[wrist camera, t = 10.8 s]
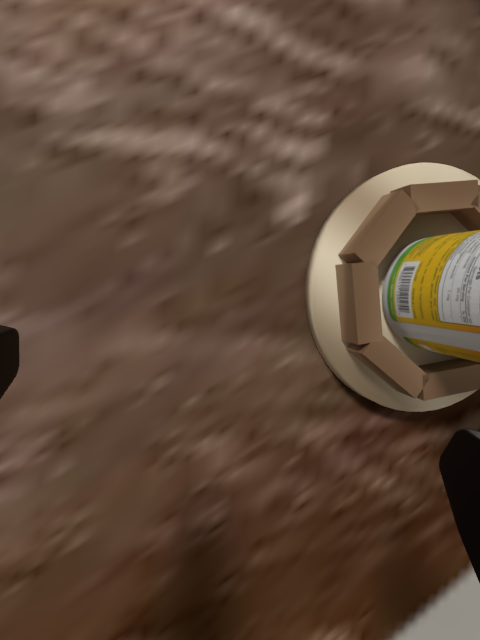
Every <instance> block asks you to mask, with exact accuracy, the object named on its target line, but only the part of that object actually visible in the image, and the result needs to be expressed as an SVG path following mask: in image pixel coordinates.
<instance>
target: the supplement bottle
mask: <svg viewBox="0 0 480 640" xmlns="http://www.w3.org/2000/svg"><path fill="white" fill-rule="evenodd" d="M382 303H383V309H384V313H385V316H386V319H387V321H388V323H389V325H390V326H391V328H392V329H393V331H394V332H395V333H396V334H397V335H398V336H399V337H400V338H401V339H402V340H403V341H405V342H406V343H408V344H410V345H412V346H414V347H417V348H420V349H424V350H428V351H432V352H436V353H441V354H446V355H450V356H454V357H459V358H463V359H467V360H471V361H476V362H480V230H475V231H468V232H461V233H453V234H446V235H439V236H433V237H428V238H424V239H420V240H418V241H415V242H413V243H412V244H410V245H408V246H407V247H405V248H404V249H403V250H402V251H401V252H400V253H399V254H398V255H397V256H396V257H395V259H394V260H393V262H392V263H391V265H390V267H389V269H388V271H387V274H386V277H385V280H384V284H383V291H382Z"/></svg>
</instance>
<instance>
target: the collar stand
mask: <svg viewBox="0 0 480 640" xmlns="http://www.w3.org/2000/svg"><path fill="white" fill-rule="evenodd" d="M475 230H480V180H479V179H478V178H476V177H475V176H473V175H471V174H469V173H467V172H465V171H463V170H461V169H458V168H455V167H452V166H449V165H443V164H438V163H415V164H408V165H404V166H400V167H397V168H394V169H391V170H388V171H386V172H384V173H381V174H379V175H377V176H375V177H373V178H370V179H368V180H366V181H365V182H363V183H362V184H360V185H359V186H357V187H356V188H354V189H353V190H352V191H351V192H350V193H348V194H347V195H346V196H345V197H344V198H343V199H342V200H341V201H340V202H339V203H338V204H337V206H336V207H335V208H334V209H333V210H332V211H331V213H330V214H329V216H328V217H327V219H326V221H325V222H324V224H323V225H322V227H321V229H320V231H319V233H318V235H317V237H316V239H315V242H314V245H313V248H312V251H311V254H310V258H309V262H308V267H307V272H306V283H305V305H306V312H307V318H308V323H309V326H310V330H311V333H312V337H313V339H314V341H315V344H316V346H317V348H318V351H319V353H320V354H321V356H322V358H323V359H324V361H325V362H326V364H327V365H328V367H329V368H330V369H331V370H332V372H333V373H334V374H335V375H336V376H337V377H338V378H339V379H340V380H341V381H342V382H343V383H344V384H345V385H346V386H348V387H349V388H350V389H352V390H353V391H355V392H356V393H358V394H359V395H361V396H363V397H366V398H368V399H370V400H372V401H374V402H376V403H378V404H380V405H382V406H385V407H388V408H392V409H395V410H401V411H407V412H424V411H431V410H437V409H440V408H444V407H447V406H450V405H452V404H454V403H457V402H459V401H461V400H463V399H465V398H466V397H468V396H469V395H471V394H473V393H474V392H475V391H477V390H478V389H480V362H476V361H471V360H467V359H463V358H459V357H454V356H450V355H446V354H441V353H436V352H432V351H428V350H424V349H420V348H417V347H414V346H412V345H410V344H408V343H406V342H405V341H403V340H402V339H401V338H400V337H399V336H398V335H397V334H396V333H395V332H394V331H393V329H392V328H391V326H390V325H389V323H388V321H387V319H386V316H385V313H384V309H383V303H382V291H383V284H384V280H385V277H386V274H387V271H388V269H389V267H390V265H391V263H392V262H393V260H394V259H395V257H396V256H397V255H398V254H399V253H400V252H401V251H402V250H403V249H404V248H405V247H407V246H408V245H410V244H412V243H413V242H415V241H418V240H420V239H424V238H428V237H433V236H439V235H446V234H453V233H461V232H468V231H475Z"/></svg>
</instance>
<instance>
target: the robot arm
mask: <svg viewBox="0 0 480 640" xmlns="http://www.w3.org/2000/svg"><path fill="white" fill-rule="evenodd" d="M18 369H19V334H18V331H17V330H16V329H14V328H11V327H7V326H2V325H0V399H1V397H2V396H3V394H4V393H5V392H6V390H7V389H8V387H9V386H10V384H11V383H12V381H13V380H14V378H15V377H16V374H17V372H18ZM439 468H440V472H441V475H442V479H443V482H444V486H445V489H446V492H447V496H448V499H449V502H450V506H451V509H452V512H453V516H454V519H455V522H456V525H457V528H458V531H459V534H460V536H461V539H462V542H463V544H464V546H465V549H466V551H467V554H468V556H469V559H470V561H471V563H472V566H473V568H474V571H475V573H476V575H477V578H478V580H479V582H480V432H479V431H475V430H471V429H466V428H461V429H458V430H457V431H456V432H455V434H454V435H453V437H452V439H451V440H450V442H449V443H448V445H447V446H446V448H445V450H444V451H443V453H442V455H441V457H440V461H439Z"/></svg>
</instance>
